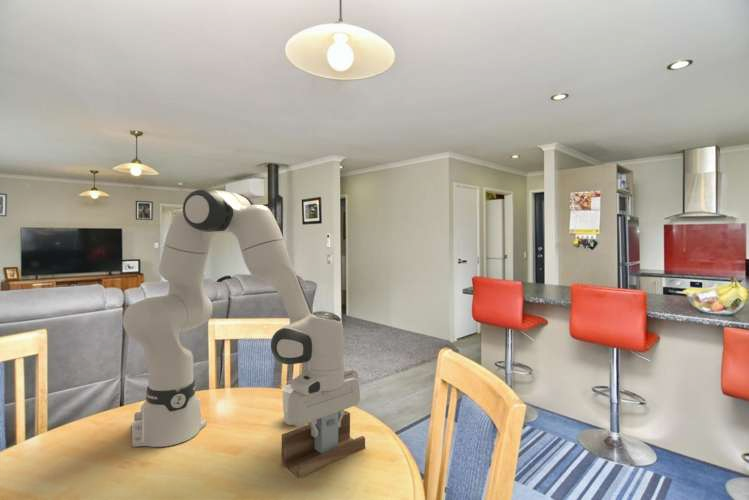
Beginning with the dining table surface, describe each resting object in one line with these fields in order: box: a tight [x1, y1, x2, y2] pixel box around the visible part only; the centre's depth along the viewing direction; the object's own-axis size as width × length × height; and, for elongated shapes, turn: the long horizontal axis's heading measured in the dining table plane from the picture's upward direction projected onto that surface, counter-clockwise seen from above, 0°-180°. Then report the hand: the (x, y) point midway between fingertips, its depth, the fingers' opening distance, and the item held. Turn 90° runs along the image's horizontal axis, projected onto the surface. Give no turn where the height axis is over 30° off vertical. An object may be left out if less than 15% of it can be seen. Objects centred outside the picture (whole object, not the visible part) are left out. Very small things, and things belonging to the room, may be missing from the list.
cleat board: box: [281, 410, 366, 479], centre depth 98 cm, size 8×20×7 cm, turn 134°
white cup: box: [281, 383, 294, 426], centre depth 117 cm, size 8×8×10 cm
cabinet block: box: [314, 412, 338, 454], centre depth 98 cm, size 4×5×9 cm
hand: (326, 431), depth 98 cm, fingers closed on cabinet block, 5 cm apart
